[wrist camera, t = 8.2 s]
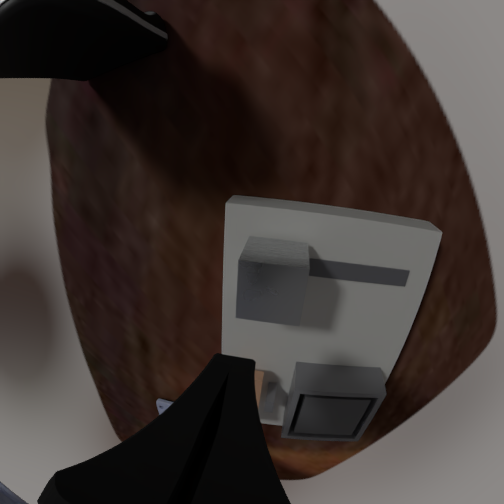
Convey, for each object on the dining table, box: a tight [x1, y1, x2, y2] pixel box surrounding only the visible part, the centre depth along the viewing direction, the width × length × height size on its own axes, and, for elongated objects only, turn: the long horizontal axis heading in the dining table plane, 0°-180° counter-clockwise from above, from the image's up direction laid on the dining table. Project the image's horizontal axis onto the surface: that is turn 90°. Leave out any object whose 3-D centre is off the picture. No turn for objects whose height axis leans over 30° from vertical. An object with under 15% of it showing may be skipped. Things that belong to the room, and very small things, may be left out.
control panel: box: [222, 195, 442, 441], centre depth 18 cm, size 18×12×4 cm, turn 176°
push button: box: [294, 394, 371, 435], centre depth 18 cm, size 4×4×2 cm
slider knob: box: [235, 236, 310, 326], centre depth 14 cm, size 3×3×3 cm
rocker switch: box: [255, 371, 264, 409], centre depth 19 cm, size 5×2×1 cm, turn 176°
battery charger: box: [0, 0, 168, 81], centre depth 9 cm, size 7×4×11 cm, turn 98°
